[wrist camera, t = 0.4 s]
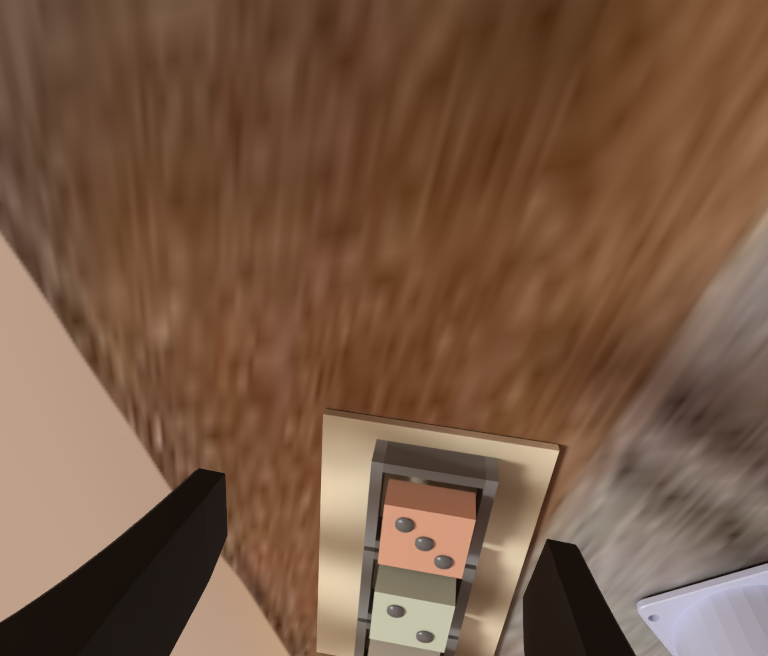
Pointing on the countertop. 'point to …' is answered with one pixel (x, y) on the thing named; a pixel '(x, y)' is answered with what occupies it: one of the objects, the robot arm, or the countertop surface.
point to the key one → (396, 650)
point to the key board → (436, 468)
